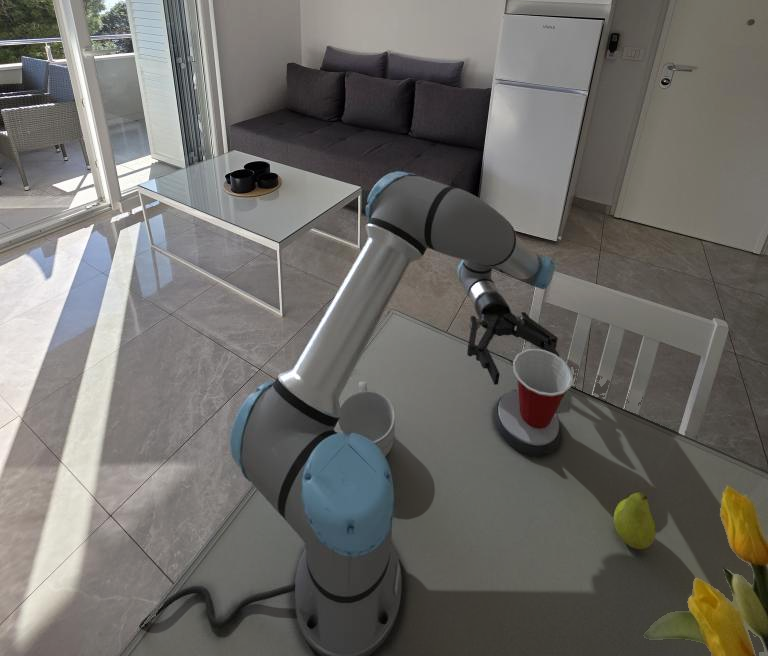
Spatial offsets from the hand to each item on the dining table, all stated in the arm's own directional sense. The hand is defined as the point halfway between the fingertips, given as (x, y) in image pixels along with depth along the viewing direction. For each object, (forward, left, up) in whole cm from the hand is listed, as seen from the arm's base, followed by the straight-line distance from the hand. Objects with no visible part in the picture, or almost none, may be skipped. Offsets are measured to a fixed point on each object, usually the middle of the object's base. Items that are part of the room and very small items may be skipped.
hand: (529, 376), depth 85 cm
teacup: (-32, -3, -11) cm, 34 cm away
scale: (0, -2, -11) cm, 11 cm away
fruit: (+10, -21, -11) cm, 26 cm away
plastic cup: (+1, -2, -8) cm, 9 cm away
